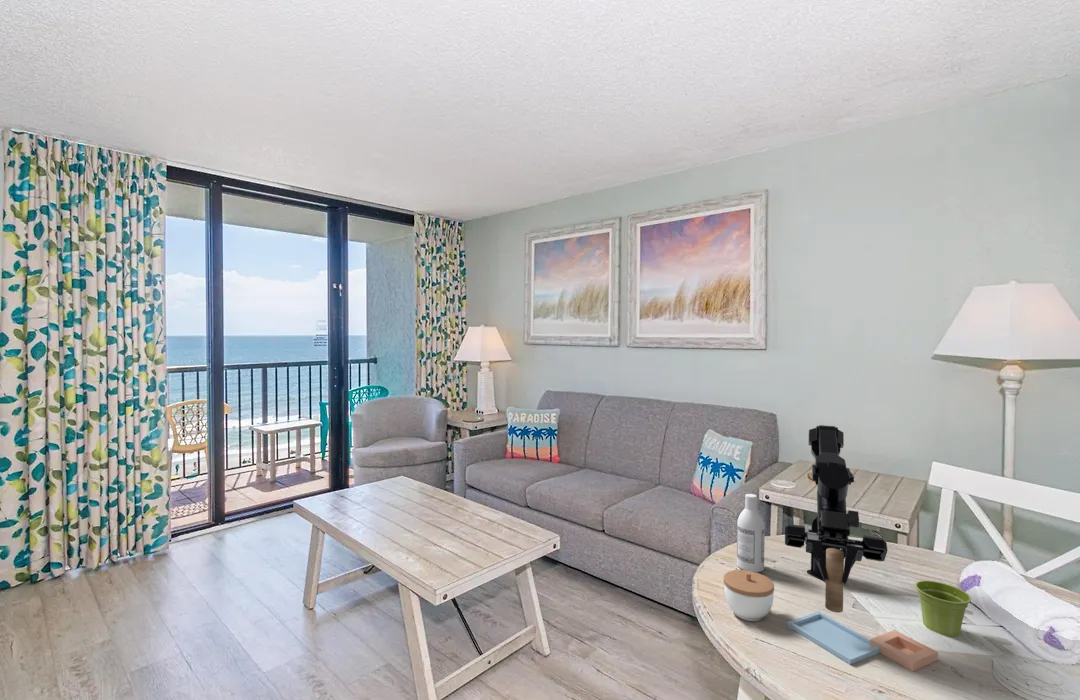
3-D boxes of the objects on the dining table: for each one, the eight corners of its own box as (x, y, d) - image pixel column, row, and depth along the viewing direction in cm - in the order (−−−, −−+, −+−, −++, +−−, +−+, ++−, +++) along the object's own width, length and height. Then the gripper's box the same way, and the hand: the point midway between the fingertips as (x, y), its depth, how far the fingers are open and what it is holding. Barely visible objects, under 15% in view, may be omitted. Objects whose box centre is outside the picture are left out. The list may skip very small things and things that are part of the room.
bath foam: (754, 560, 141) (755, 490, 141) (769, 572, 135) (770, 498, 134) (731, 562, 140) (732, 492, 140) (745, 574, 134) (746, 500, 133)
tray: (787, 629, 108) (787, 621, 108) (818, 618, 113) (818, 611, 113) (850, 668, 96) (850, 659, 96) (883, 654, 100) (883, 646, 100)
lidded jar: (735, 596, 122) (735, 558, 122) (781, 613, 114) (781, 573, 114) (714, 613, 115) (715, 573, 114) (762, 633, 107) (762, 590, 107)
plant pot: (944, 617, 113) (945, 579, 113) (982, 643, 103) (983, 601, 103) (903, 618, 113) (904, 580, 112) (938, 644, 103) (939, 602, 103)
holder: (869, 650, 101) (870, 639, 101) (894, 640, 104) (894, 629, 104) (912, 674, 94) (913, 662, 94) (937, 662, 97) (938, 651, 97)
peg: (821, 604, 105) (822, 548, 105) (836, 603, 106) (837, 547, 105) (831, 612, 102) (832, 555, 102) (846, 612, 102) (847, 554, 102)
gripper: (785, 487, 111) (784, 556, 101) (886, 500, 103) (895, 576, 93) (785, 511, 118) (784, 577, 109) (880, 525, 110) (887, 598, 100)
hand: (835, 581), depth 103 cm, fingers closed on peg, 3 cm apart
